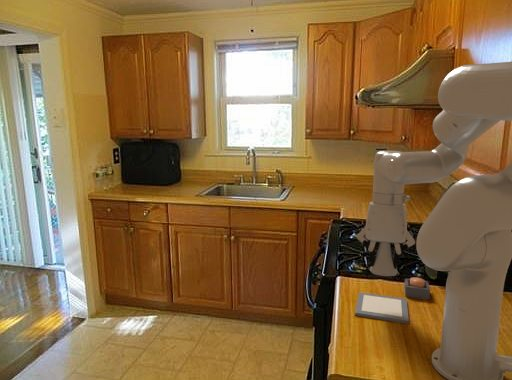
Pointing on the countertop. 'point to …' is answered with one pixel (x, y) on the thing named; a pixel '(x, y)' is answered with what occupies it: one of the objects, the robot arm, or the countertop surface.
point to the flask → (384, 261)
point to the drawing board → (382, 307)
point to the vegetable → (431, 272)
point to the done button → (417, 282)
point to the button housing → (417, 290)
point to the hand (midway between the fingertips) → (383, 265)
